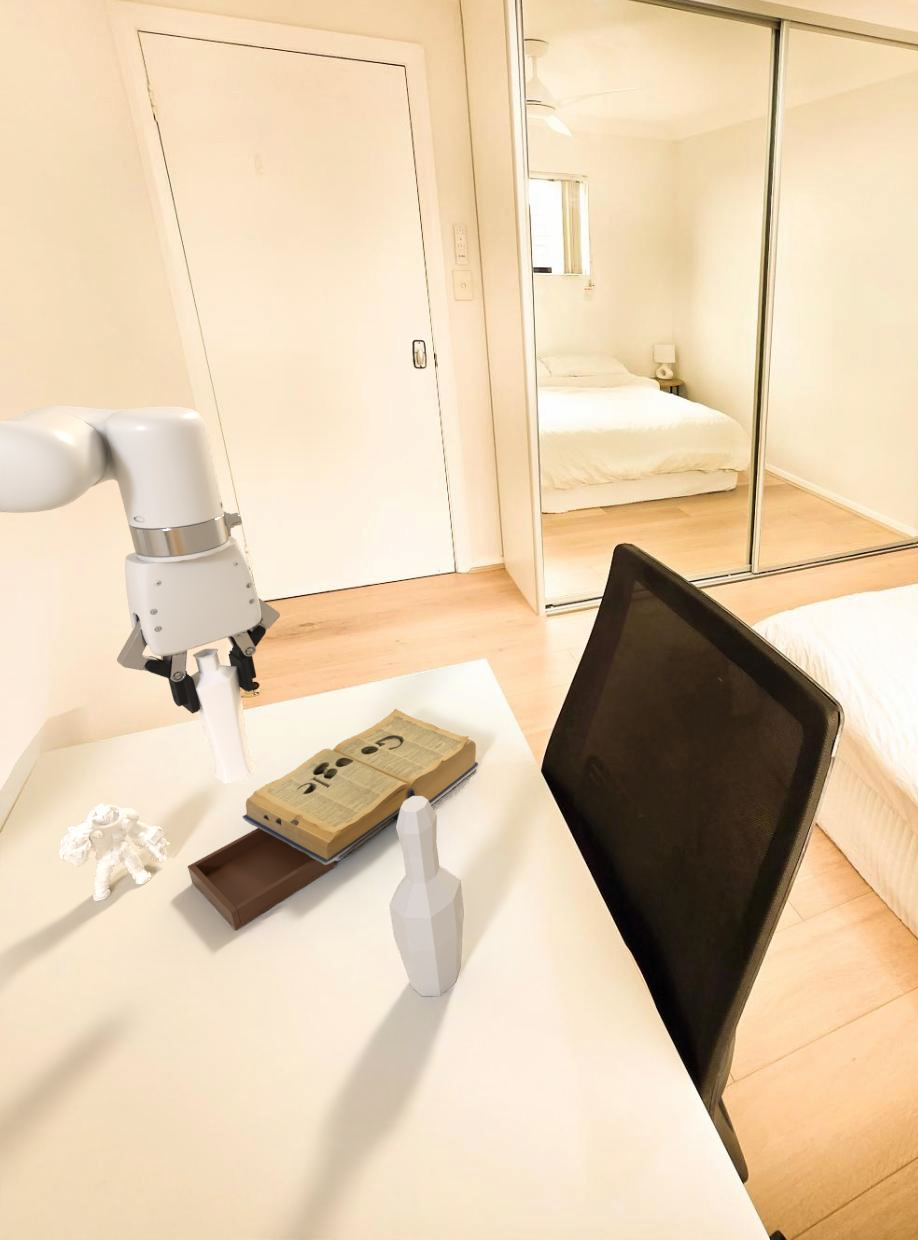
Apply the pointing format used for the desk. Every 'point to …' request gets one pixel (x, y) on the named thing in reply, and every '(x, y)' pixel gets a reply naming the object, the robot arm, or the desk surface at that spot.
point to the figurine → (113, 844)
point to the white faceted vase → (222, 716)
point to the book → (360, 786)
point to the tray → (253, 875)
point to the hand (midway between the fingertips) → (218, 695)
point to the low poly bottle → (426, 904)
